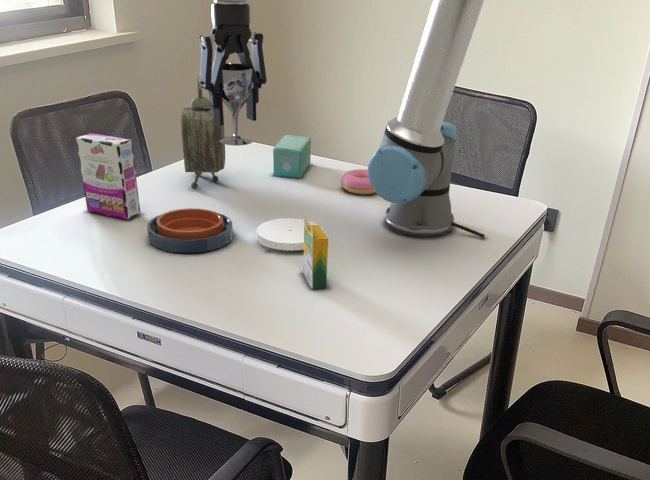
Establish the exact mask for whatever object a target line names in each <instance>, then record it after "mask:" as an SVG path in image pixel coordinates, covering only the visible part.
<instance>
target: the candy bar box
mask: <svg viewBox="0 0 650 480" xmlns="http://www.w3.org/2000/svg"><path fill="white" fill-rule="evenodd" d="M75 141H76V148H77V155H78V161H79V166H80V173H81V179H82V184H83V191H84V198H85V205H86V210H87V212H89V213H92V214H97V215H102V216H107V217H111V218H115V219H116V218H117V219H122V220H127V221H128V220H130V219H132V218H134V217H137V216H139V215H141V205H140V196H139V188H138V181H137V180H138V179H137V174H136V173H137V171H136V164H135V157H134V148H133V140H132V139H128V138H123V137H117V136H112V135H111V136H110V135H105V134H98V133H91V132H90V133H85V134H83V135H80V136H78V137H75Z"/></svg>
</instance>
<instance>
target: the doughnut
mask: <svg viewBox="0 0 650 480" xmlns="http://www.w3.org/2000/svg"><path fill="white" fill-rule="evenodd" d="M340 182H341V186H342V188H343V189H344V190H345V191H347V192H349V193H352V194H355V195H373V194H377V193H376V192H375V191H374V189H373V187H372V185H371V184H370V182H369V178H368V169H364V168H357V169H351V170H347V171H345V172H344V173H343V174H342V176H341V178H340Z"/></svg>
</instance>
